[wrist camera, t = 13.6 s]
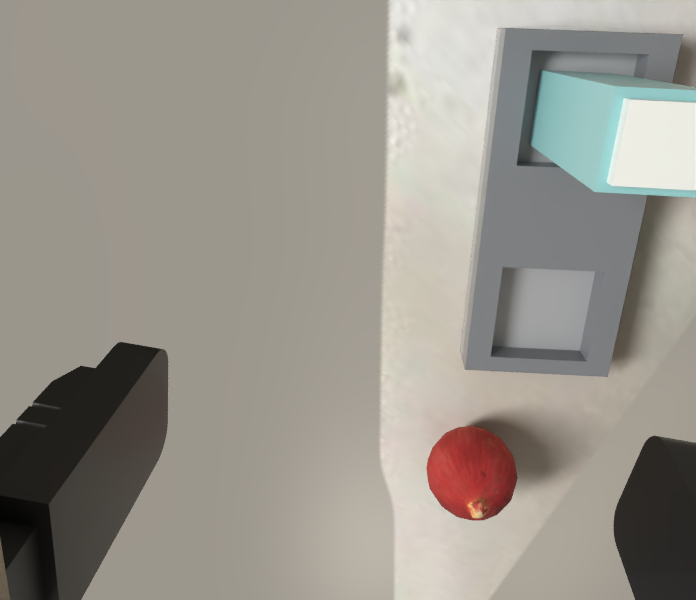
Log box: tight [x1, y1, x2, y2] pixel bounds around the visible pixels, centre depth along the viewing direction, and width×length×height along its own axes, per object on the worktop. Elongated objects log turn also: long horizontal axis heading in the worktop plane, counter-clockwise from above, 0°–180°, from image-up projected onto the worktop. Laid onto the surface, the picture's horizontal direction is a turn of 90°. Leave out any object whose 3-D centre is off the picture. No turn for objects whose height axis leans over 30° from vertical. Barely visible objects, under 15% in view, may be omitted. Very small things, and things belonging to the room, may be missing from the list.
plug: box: [529, 70, 696, 198], centre depth 30 cm, size 4×5×13 cm
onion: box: [427, 426, 517, 520], centre depth 42 cm, size 6×6×8 cm
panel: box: [460, 28, 683, 377], centre depth 38 cm, size 20×9×2 cm, turn 178°
